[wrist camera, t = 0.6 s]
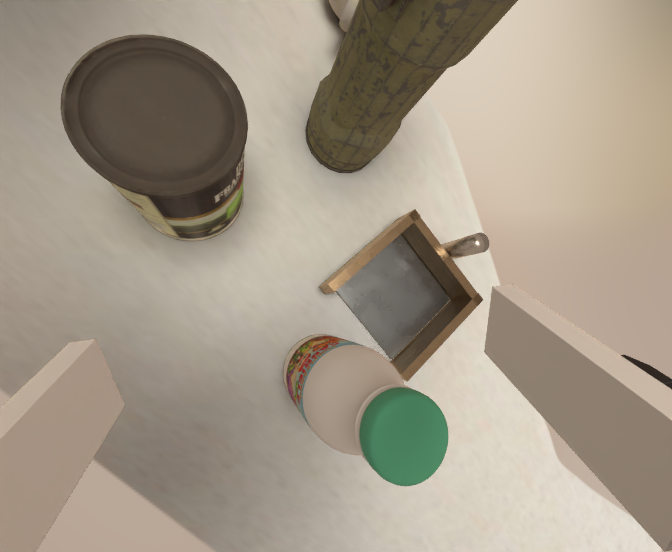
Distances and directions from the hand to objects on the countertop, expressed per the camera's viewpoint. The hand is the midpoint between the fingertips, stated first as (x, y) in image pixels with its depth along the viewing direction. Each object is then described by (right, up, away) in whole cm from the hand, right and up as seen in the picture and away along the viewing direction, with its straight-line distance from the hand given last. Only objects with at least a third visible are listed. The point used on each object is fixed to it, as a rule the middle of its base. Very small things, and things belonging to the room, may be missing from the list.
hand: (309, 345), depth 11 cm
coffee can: (-14, +11, +22) cm, 29 cm away
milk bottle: (-1, -8, +24) cm, 26 cm away
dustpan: (+9, +1, +28) cm, 29 cm away
